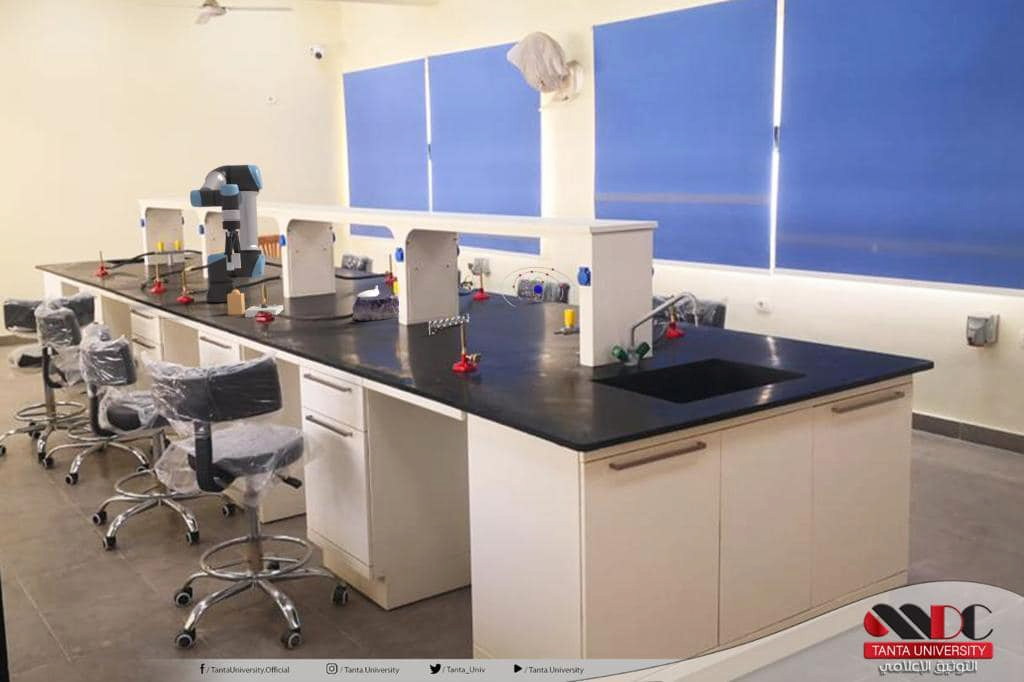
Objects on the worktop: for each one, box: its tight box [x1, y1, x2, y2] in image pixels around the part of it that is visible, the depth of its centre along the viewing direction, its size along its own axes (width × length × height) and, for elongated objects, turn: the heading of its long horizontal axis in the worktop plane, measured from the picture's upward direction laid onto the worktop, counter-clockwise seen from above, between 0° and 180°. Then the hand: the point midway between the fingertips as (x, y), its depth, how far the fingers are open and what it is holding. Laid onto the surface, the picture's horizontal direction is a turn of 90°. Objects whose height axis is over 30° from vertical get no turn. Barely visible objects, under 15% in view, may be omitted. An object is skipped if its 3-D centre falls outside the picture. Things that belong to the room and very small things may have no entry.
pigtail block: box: [244, 298, 284, 318], centre depth 435 cm, size 18×13×7 cm
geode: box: [352, 297, 400, 322], centre depth 408 cm, size 20×12×10 cm, turn 127°
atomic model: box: [500, 266, 577, 308], centre depth 433 cm, size 28×21×30 cm
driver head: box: [356, 285, 380, 298], centre depth 478 cm, size 10×11×12 cm
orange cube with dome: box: [227, 289, 246, 316], centre depth 438 cm, size 6×6×11 cm
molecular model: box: [428, 313, 470, 336], centre depth 380 cm, size 25×9×6 cm, turn 143°
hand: (234, 269), depth 436 cm, fingers open, 13 cm apart
